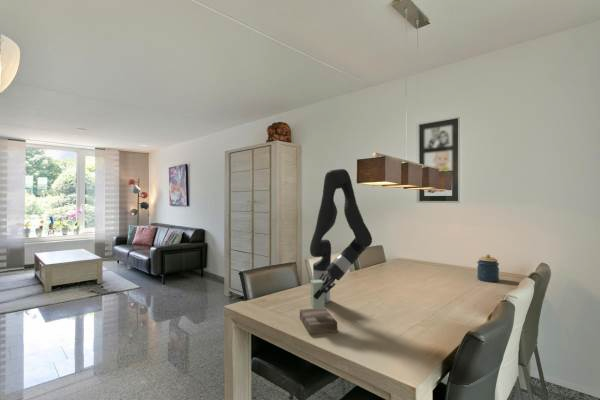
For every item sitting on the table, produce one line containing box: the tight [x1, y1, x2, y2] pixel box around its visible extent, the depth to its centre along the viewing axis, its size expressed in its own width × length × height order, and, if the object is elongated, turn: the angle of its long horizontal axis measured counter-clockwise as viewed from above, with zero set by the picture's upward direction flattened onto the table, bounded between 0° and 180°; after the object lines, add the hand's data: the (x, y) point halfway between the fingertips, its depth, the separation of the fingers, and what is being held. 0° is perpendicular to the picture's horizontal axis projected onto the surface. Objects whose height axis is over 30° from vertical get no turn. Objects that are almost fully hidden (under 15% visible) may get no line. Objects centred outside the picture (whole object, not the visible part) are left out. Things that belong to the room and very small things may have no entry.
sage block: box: [310, 279, 326, 309], centre depth 136 cm, size 5×5×11 cm
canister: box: [476, 254, 500, 283], centre depth 213 cm, size 13×13×18 cm
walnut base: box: [299, 308, 338, 335], centre depth 136 cm, size 18×12×4 cm, turn 12°
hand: (313, 295), depth 135 cm, fingers closed on sage block, 5 cm apart
